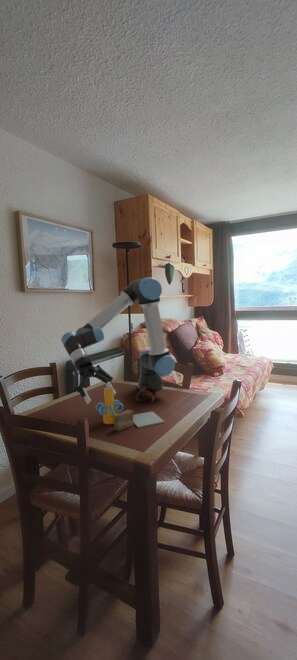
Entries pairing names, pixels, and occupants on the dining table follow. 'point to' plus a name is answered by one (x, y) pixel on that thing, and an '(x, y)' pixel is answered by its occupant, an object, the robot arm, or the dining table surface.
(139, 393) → the pottery mug
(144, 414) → the mat
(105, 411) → the yellow upright looped piece
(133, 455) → the dining table surface
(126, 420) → the tan block
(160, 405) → the dining table surface
